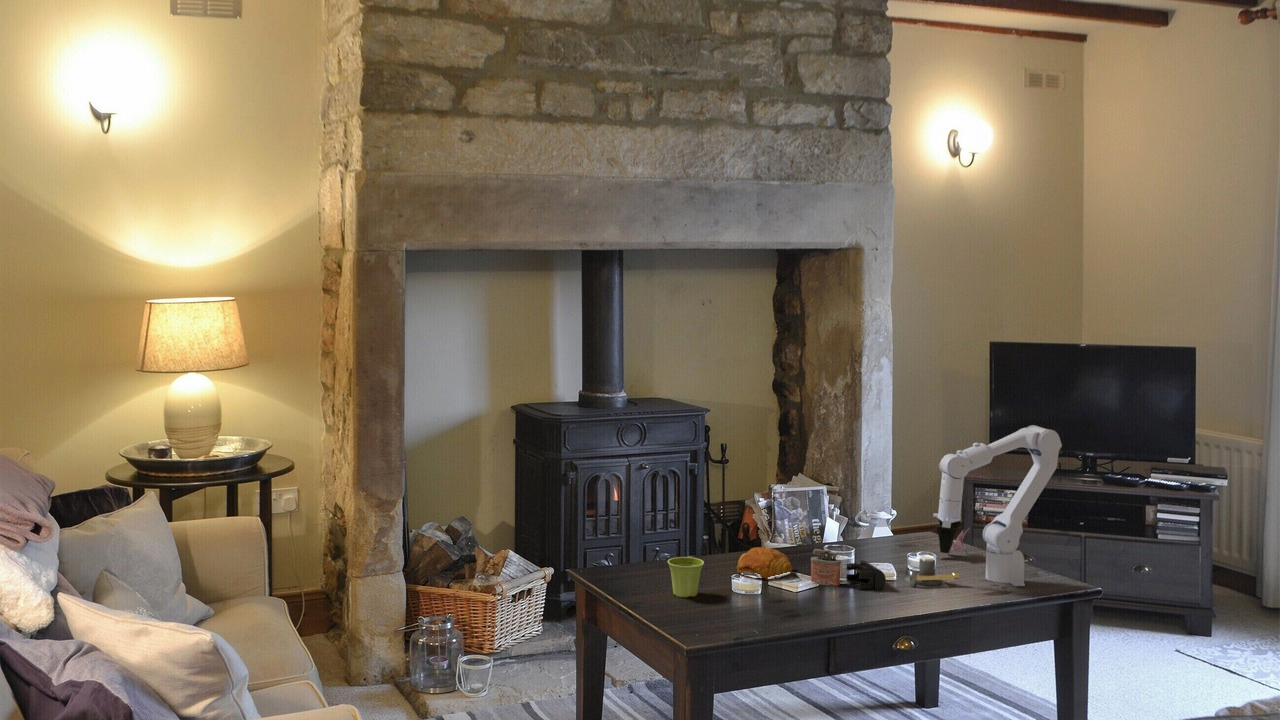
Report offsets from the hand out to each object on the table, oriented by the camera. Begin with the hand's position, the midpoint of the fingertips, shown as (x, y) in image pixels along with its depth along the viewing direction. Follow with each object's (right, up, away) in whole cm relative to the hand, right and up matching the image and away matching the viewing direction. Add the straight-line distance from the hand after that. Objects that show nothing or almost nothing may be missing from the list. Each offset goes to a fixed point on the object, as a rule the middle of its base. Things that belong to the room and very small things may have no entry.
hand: (945, 549), depth 300 cm
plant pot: (-70, -10, -10) cm, 71 cm away
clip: (-4, -9, -5) cm, 11 cm away
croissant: (-48, -9, +11) cm, 50 cm away
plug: (-5, -8, -2) cm, 10 cm away
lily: (+11, -8, +29) cm, 32 cm away
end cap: (-22, -10, -4) cm, 25 cm away
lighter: (-33, -10, -2) cm, 34 cm away
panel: (-4, -10, -3) cm, 11 cm away
